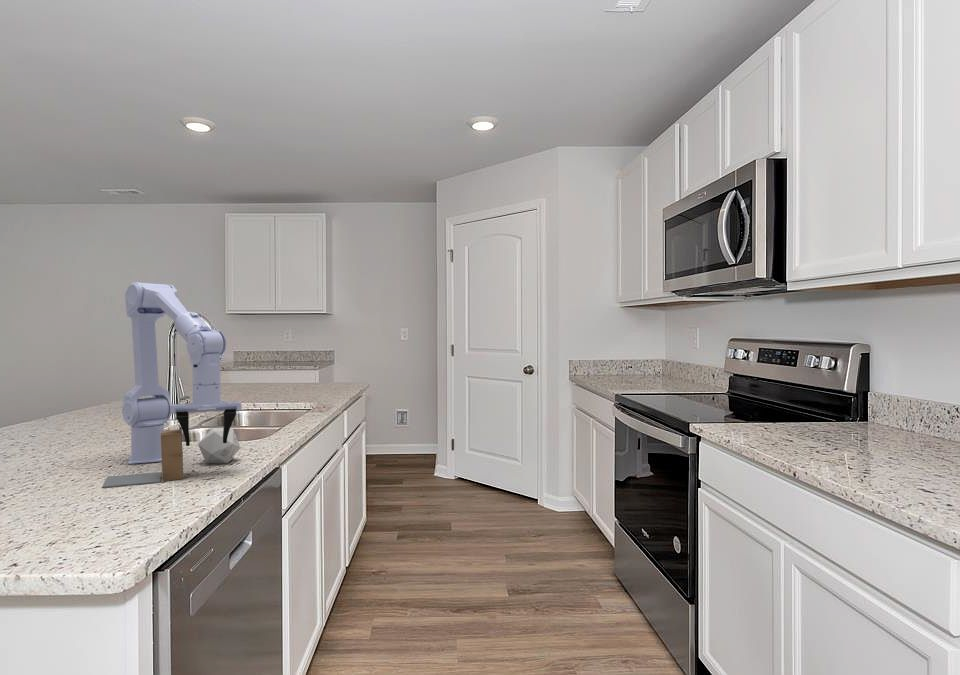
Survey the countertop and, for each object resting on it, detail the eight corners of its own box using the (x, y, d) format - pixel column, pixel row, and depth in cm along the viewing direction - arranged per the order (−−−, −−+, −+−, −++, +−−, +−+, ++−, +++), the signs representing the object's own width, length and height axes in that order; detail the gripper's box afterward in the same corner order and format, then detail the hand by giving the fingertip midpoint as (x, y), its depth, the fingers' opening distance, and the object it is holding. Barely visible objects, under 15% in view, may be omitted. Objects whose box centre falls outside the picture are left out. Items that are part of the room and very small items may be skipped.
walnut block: (163, 475, 133) (161, 431, 133) (183, 472, 135) (181, 429, 135) (162, 481, 128) (160, 435, 127) (183, 478, 130) (181, 433, 129)
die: (213, 470, 140) (240, 435, 143) (184, 450, 142) (211, 415, 145) (227, 475, 148) (252, 441, 151) (199, 455, 150) (225, 422, 153)
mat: (107, 478, 130) (107, 476, 130) (161, 473, 135) (161, 471, 135) (101, 488, 122) (101, 486, 122) (160, 482, 127) (160, 481, 127)
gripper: (170, 386, 127) (170, 449, 127) (242, 384, 134) (242, 444, 134) (170, 383, 133) (170, 443, 134) (239, 381, 140) (239, 438, 140)
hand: (206, 443), depth 134 cm, fingers open, 7 cm apart
